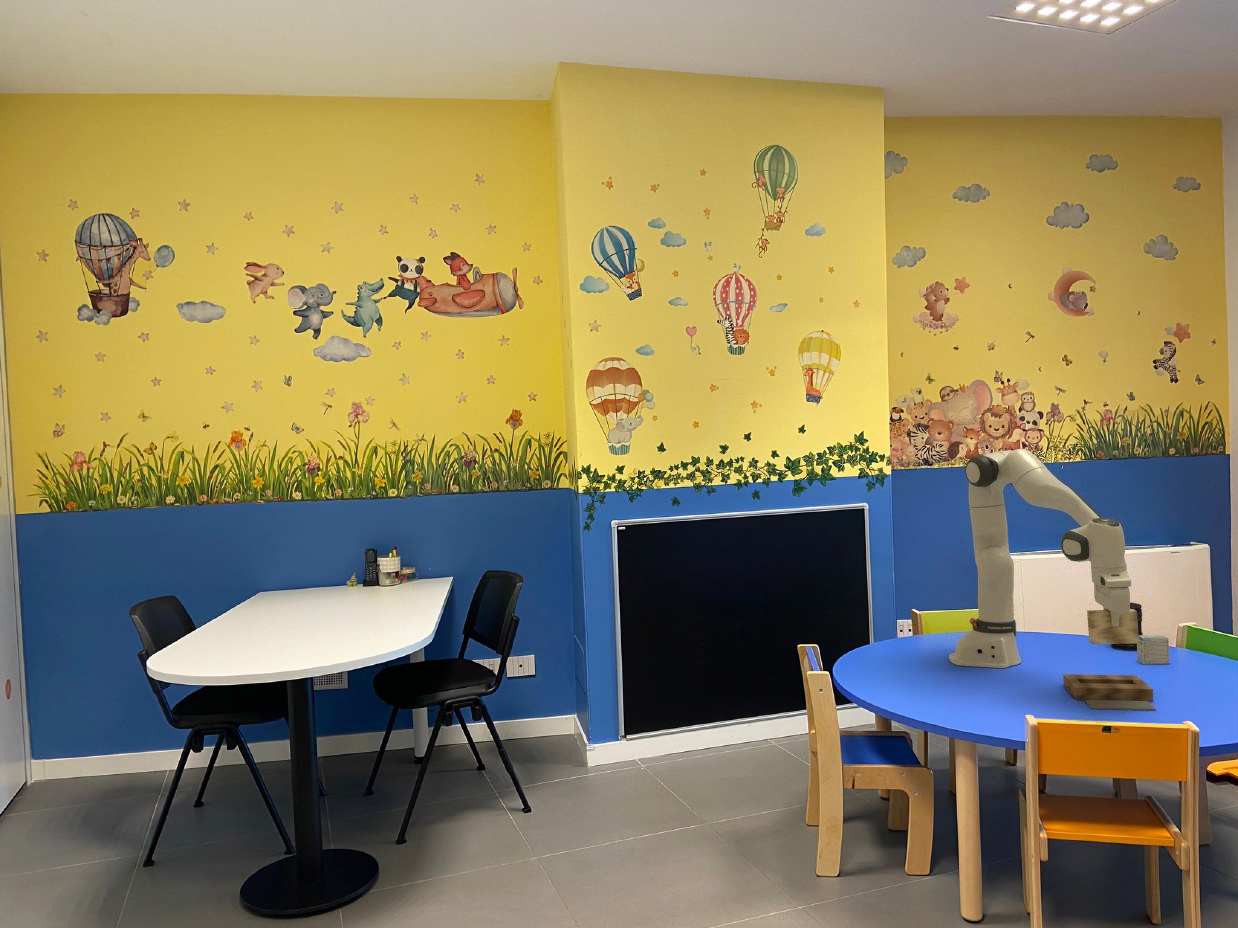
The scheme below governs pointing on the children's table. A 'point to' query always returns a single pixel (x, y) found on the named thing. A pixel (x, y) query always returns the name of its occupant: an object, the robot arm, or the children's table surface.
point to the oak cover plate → (1112, 628)
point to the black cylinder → (1139, 617)
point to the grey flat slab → (1119, 705)
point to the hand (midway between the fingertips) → (1112, 624)
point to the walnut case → (1107, 687)
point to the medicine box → (1153, 649)
